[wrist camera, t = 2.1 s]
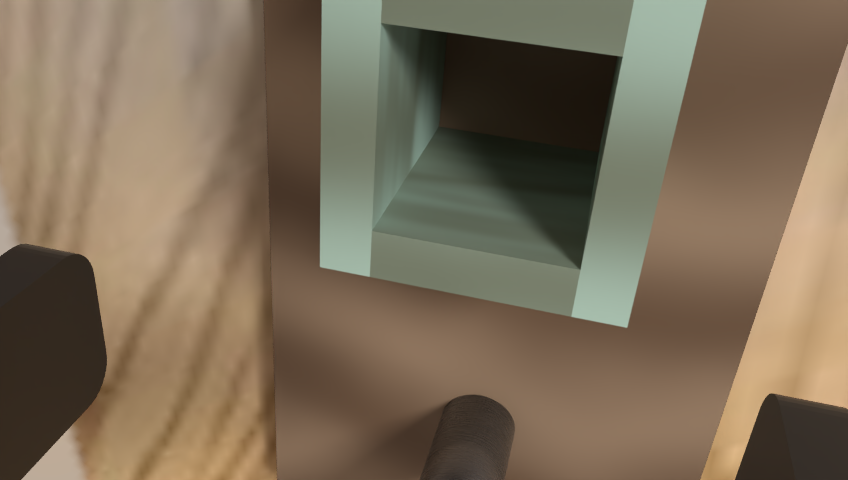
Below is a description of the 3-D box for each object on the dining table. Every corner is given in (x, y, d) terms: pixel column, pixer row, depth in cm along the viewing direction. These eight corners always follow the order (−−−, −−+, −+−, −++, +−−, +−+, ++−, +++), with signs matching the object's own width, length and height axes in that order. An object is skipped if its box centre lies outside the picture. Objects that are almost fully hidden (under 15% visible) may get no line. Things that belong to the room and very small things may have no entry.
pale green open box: (411, -93, 19) (321, -50, 14) (691, -61, 18) (707, -3, 13) (396, 157, 22) (320, 267, 17) (634, 197, 21) (626, 327, 16)
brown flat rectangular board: (278, -195, 20) (258, -194, 19) (892, -138, 17) (907, -134, 16) (289, 461, 31) (277, 484, 30) (665, 552, 28) (665, 581, 27)
